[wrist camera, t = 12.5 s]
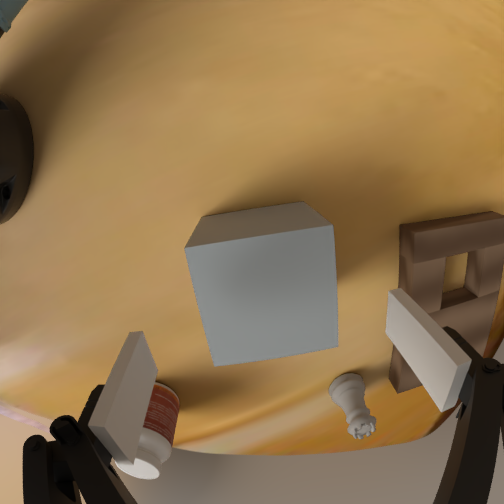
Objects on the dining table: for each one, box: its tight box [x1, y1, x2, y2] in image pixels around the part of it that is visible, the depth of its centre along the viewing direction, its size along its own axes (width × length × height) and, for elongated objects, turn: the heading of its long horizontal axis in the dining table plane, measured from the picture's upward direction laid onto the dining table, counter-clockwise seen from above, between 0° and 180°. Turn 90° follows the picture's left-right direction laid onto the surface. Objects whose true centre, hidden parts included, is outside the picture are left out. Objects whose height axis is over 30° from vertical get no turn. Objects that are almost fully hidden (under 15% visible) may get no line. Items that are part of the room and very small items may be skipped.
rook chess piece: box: [329, 373, 376, 439], centre depth 30 cm, size 4×4×8 cm
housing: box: [184, 201, 338, 366], centre depth 24 cm, size 9×9×9 cm
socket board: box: [389, 211, 504, 394], centre depth 29 cm, size 20×14×3 cm
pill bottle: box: [115, 382, 180, 479], centre depth 28 cm, size 6×6×11 cm
